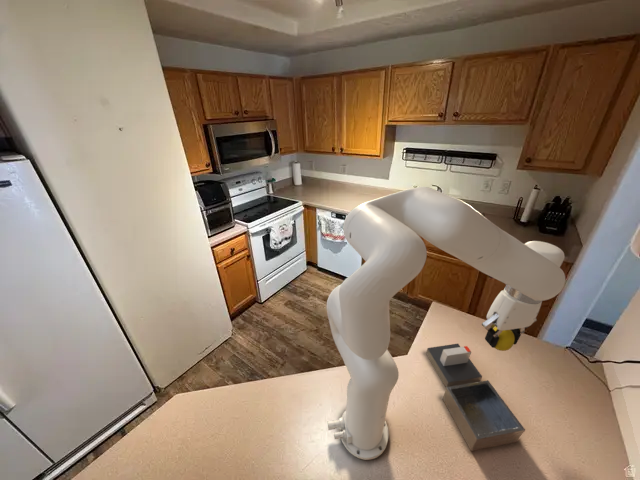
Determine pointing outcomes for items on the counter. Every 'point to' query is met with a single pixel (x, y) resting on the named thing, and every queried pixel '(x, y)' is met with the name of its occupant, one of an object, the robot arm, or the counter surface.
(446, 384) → the sink deck
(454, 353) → the white block red stripe
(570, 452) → the counter surface
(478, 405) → the basin
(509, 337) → the lemon
